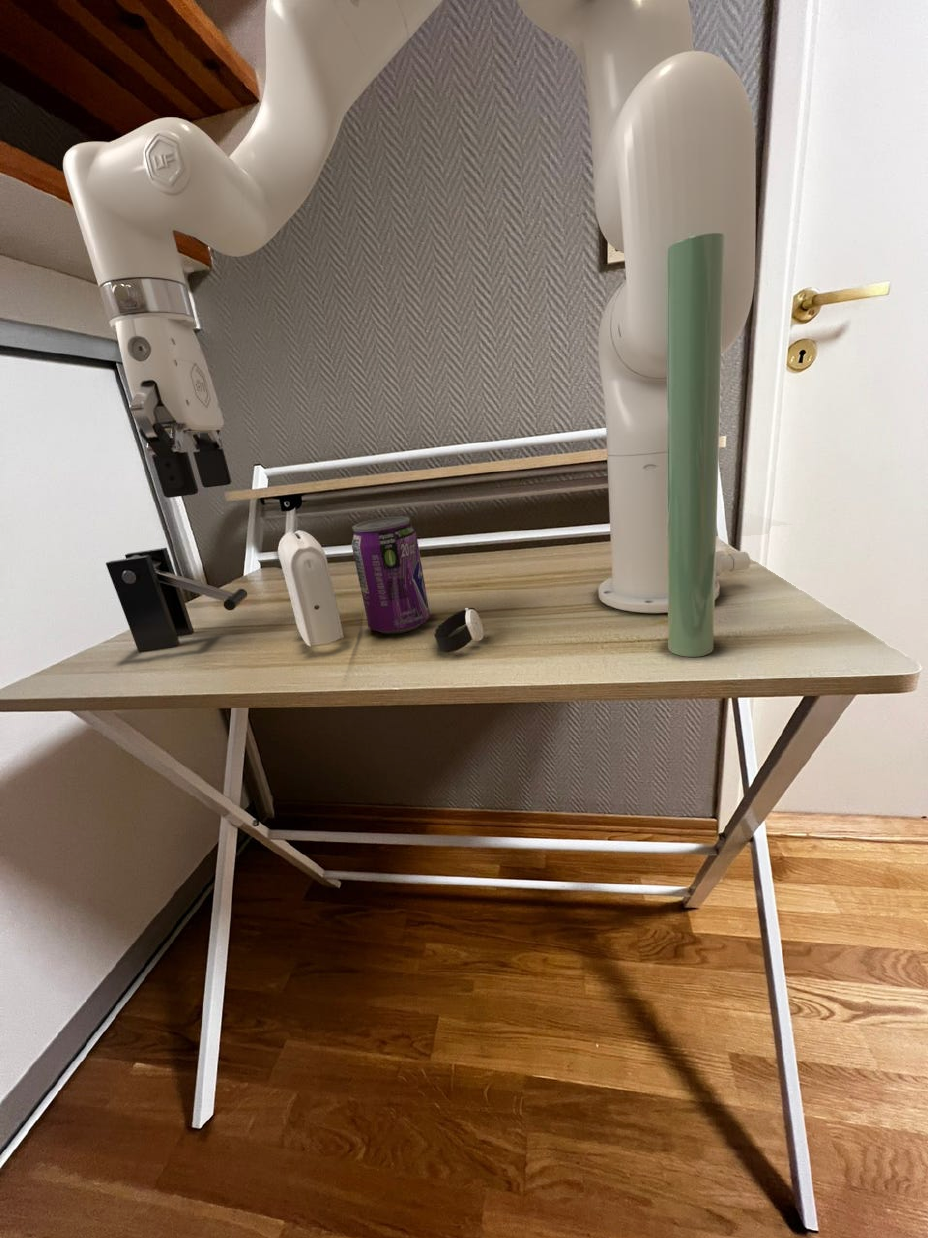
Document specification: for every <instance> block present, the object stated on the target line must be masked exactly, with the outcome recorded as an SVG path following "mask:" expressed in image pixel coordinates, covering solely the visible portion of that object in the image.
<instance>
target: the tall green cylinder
mask: <svg viewBox="0 0 928 1238" xmlns="http://www.w3.org/2000/svg"><path fill="white" fill-rule="evenodd" d="M724 247H725V235H724V234H722V233H708V234H702V235H697V236H693V237H690V238H686V239H683V240H681V241H678V242H676V243H674V244H672V245H670V246H669V247H668V248H667V496H668V613H667V648H668V650H669V652H670V653H672V654H674V655H677V656H680V657H686V658H696V657H703V656H707V655H709V654H711V653H712V652H713V650H714V637H715V606H716V605H715V602H716V599H715V579H716V577H715V569H716V552H717V534H718V533H717V530H718V528H717V527H718V498H719V497H718V495H719V493H718V492H719V458H720V457H719V455H720V427H721V426H720V423H721V422H720V421H721V420H720V419H721V387H722V386H721V385H722V356H723V355H722V319H723V283H724ZM721 355H722V356H721Z"/></svg>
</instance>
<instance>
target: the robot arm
mask: <svg viewBox="0 0 928 1238" xmlns="http://www.w3.org/2000/svg"><path fill="white" fill-rule="evenodd" d="M443 1H444V0H266V2H265V16H264V17H265V19H264V34H265V35H264V37H265V38H264V39H265V40H264V41H265V81H264V90H263V95H262V100H261V103H260V106H259V109H258V113H257V115H256V117H255V119H254V122H253V124H252V126H251V127H250V129H249V130H248V132H247V134H246V135H245V136H244V138H243V139H242V140H241V142H240V143H239V144H238V146H237V147H236V148H235V149H234V151H232V153H230V155H228V154H227V153H225V151H224V150H223V149H221V147H220V146H219V145H217V143H216V142H215V141H214V140H213V139H212V138H211V137H210V136H209V135H208V134H207V133H206V132H205V131H203V130H202V129H201V128H200V127H199V126H197V125H196V124H194V123H192V122H190V121H188V120H187V119H184V118H179V117H172V116H171V117H167V116H166V117H161V118H157V119H154V120H152V121H149V122H147V123H145V124H143V125H141V126H140V127H137V128H136V129H134V130H132V131H130V132H128V133H126V134H125V135H122V136H121V137H119V138H116V139H114V140H111V141H87V142H80V143H77V144H75V145H72V147H70V148H69V149H68V150H67V151H66V152H65V154H64V156H63V160H62V170H63V174H64V178H65V183H66V186H67V188H68V192H69V195H70V198H71V202H72V205H73V208H74V211H75V214H76V218H77V221H78V225H79V228H80V232H81V234H82V237H83V241H84V245H85V248H86V251H87V254H88V257H89V260H90V264H91V267H92V270H93V273H94V276H95V280H96V282H97V286H98V289H99V293H100V296H101V300H102V302H103V306H104V309H105V312H106V315H107V319H108V322H109V325H110V329H111V330H112V331H113V332H115V333H116V337H117V342H118V347H119V352H120V356H121V361H122V366H123V369H124V374H125V379H126V381H127V386H128V389H129V392H130V395H131V399H132V400H131V401H130V403H129V404H128V405H129V411H130V413H131V414H132V416H133V418H134V420H135V422H136V424H137V425H138V427H139V429H138V432H139V433H140V436H141V437H142V438H143V440H144V441H145V443H146V450H147V452H148V454H149V456H151V458H152V462H153V464H154V468H155V470H156V474H157V477H158V481H159V485H160V488H161V491H162V493H163V496H164V497H165V498H167V499H171V498H179V497H186V496H193V495H197V494H198V493H199V487H198V484H197V480H196V477H195V474H194V470H193V466H192V463H191V459H190V456H189V451H183V445H184V444H183V442H184V435H186V436H187V437H188V439H189V441H190V442H191V444H192V445H193V447H194V449H195V450H196V451H193V452H192V454H193V457H194V461H195V464H196V468H197V471H198V476H199V479H200V483H201V486H202V487H203V488H205V489H207V488H214V487H223V486H228V485H230V484H232V477H231V474H230V470H229V466H228V463H227V462H228V461H227V458H226V456H225V451H224V444H223V441H222V439H221V437H220V432H221V429H222V428H223V427H224V425H225V421H224V417H223V412H222V410H221V407H220V402H219V399H218V396H217V393H216V390H215V387H214V382H213V380H212V377H211V373H210V370H209V367H208V365H207V361H206V359H205V356H204V353H203V352H204V351H203V350H202V347H201V344H200V342H199V339H198V337H197V336H196V333H195V331H194V329H196V328H197V326H198V325H197V321H196V318H195V314H194V309H193V305H192V302H191V301H192V300H191V298H190V297H191V296H190V294H189V290H188V286H187V282H186V277H185V275H184V271H183V270H184V269H183V265H182V263H181V259H180V255H179V251H178V247H177V244H176V243H177V242H176V239H175V235H174V231H176V232H178V233H181V234H185V235H187V236H190V237H193V238H195V239H197V240H198V241H200V242H202V243H203V244H204V245H206V246H208V247H210V248H211V249H212V250H214V251H216V252H218V253H220V254H223V255H225V256H229V257H235V258H236V257H246V256H248V255H251V254H254V253H255V252H257V251H258V250H260V249H261V248H263V247H264V246H266V244H267V243H269V242H270V241H271V240H272V239H273V238H274V236H275V235H276V234H278V232H279V231H280V230H281V229H282V228H283V227H284V225H285V224H286V223H287V222H289V220H290V219H291V218H292V217H293V215H294V214H295V213H296V212H297V211H298V210H299V208H300V207H301V206H302V205H303V204H304V202H305V201H306V200H307V198H308V196H309V195H310V193H311V191H312V190H313V188H314V186H315V184H316V183H317V181H318V179H319V177H320V175H321V173H322V171H323V169H324V166H325V164H326V161H327V159H328V158H329V155H330V154H331V151H332V149H333V147H334V144H335V143H336V139H337V137H338V134H339V131H340V128H341V127H342V126H341V125H342V123H343V120H344V118H345V116H346V114H347V112H348V111H349V110H350V108H351V107H352V105H353V104H354V103H355V102H356V101H357V100H358V99H359V98H360V96H361V95H362V94H363V93H364V91H366V89H367V88H368V87H369V86H370V85H371V84H372V82H373V81H374V80H375V79H376V77H377V76H379V74H380V73H381V72H382V71H383V69H385V67H386V66H387V65H388V64H389V63H390V62H391V61H392V59H394V57H395V56H396V55H397V53H398V52H399V51H400V50H401V49H402V48H403V47H404V45H406V44H407V42H408V41H409V40H410V39H411V38H412V36H413V35H414V34H415V33H416V32H417V31H418V29H420V28H421V26H422V25H423V24H424V23H425V22H426V20H427V19H428V18H429V17H430V16H431V15H432V14H433V12H434V11H436V9H437V8H438V7H439V5H441V3H442V2H443ZM516 2H517V4H518V5H519V7H520V9H521V11H522V12H523V14H524V15H525V16H526V17H527V19H528V20H529V21H530V22H531V23H532V24H534V25H535V26H536V27H538V28H539V29H540V30H541V31H543V32H545V33H547V34H549V35H551V36H552V37H554V38H556V39H558V40H560V41H561V42H562V43H564V44H565V45H566V46H567V47H568V48H569V49H570V50H571V51H572V52H573V53H574V55H575V56H576V57H577V60H578V61H579V65H580V67H581V70H582V71H581V72H582V75H583V81H584V86H585V95H586V100H587V102H586V103H587V109H588V119H589V133H590V134H589V135H590V145H591V159H592V173H593V174H592V177H593V199H594V202H593V203H594V209H595V216H596V220H597V224H598V226H599V228H600V231H601V233H602V236H603V237H604V238H605V240H606V242H607V243H608V244H609V246H611V247H612V248H613V249H615V250H616V251H617V252H620V253H622V254H624V269H625V280H624V282H622V284H621V285H620V286H619V287H618V288H617V289H616V290H615V292H614V293H613V294H612V296H611V297H610V299H609V301H608V303H607V305H606V307H605V309H604V311H603V314H602V316H601V320H600V324H599V330H598V334H597V335H598V336H597V355H598V365H599V366H598V367H599V372H600V381H601V387H602V394H603V395H602V396H603V405H604V417H605V433H606V459H607V463H606V464H607V484H608V487H607V488H608V510H609V511H608V513H609V534H610V557H611V559H610V560H611V577H609V578H607V579H605V580H604V581H602V582H601V583H600V584H599V585H598V599H599V600H600V601H601V602H602V604H605V605H607V606H608V607H611V608H614V609H617V610H621V611H626V612H631V613H640V614H641V613H642V614H665V613H666V614H668V496H667V248H668V247H669V246H670V245H672V244H674V243H676V242H678V241H681V240H683V239H686V238H690V237H693V236H697V235H702V234H708V233H722V234H724V235H725V247H724V283H723V319H722V355H721V357H722V356H723V355H724V354H725V353H726V352H727V351H728V350H730V348H731V346H733V345H734V343H735V342H736V340H737V339H738V337H739V336H740V335H741V333H742V331H743V329H744V328H745V325H746V322H747V320H748V317H749V314H750V312H751V311H750V310H751V307H752V303H753V302H752V301H753V296H754V289H755V276H756V201H757V200H756V195H757V194H756V192H757V191H756V183H757V182H756V178H757V177H756V166H757V165H756V130H755V119H754V114H753V109H752V106H751V102H750V98H749V96H748V92H747V90H746V87H745V86H744V84H743V81H742V80H741V78H740V77H739V75H738V73H737V72H736V71H735V69H734V68H732V67H731V65H730V64H729V63H728V62H727V61H725V60H724V59H722V58H721V57H719V56H717V55H715V54H713V53H710V52H707V51H702V50H695V49H694V36H693V35H694V34H693V33H694V32H693V21H692V13H691V7H690V3H689V0H516ZM750 566H751V557H750V555H749V553H748V552H747V551H740V552H739V551H738V552H733V553H728V554H725V551H724V550H719V551H716V569H715V600H716V599H717V598H718V597H720V582H719V581H718V580H717V579H716V577H720V576H721V574H722V573H723V572H736V571H737V572H738V571H744V570H748V569H749V568H750Z"/></svg>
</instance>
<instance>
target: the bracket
mask: <svg viewBox="0 0 928 1238" xmlns="http://www.w3.org/2000/svg"><path fill="white" fill-rule="evenodd" d="M134 555H139V556H141V557H135V558H130V557H132V556H134ZM124 556H125V558H122V559H121V558H120V559H115V560H114V559H113V560H109V561H107V562H105V566H106V569H107V571H108V575H109V576H110V579H111V583H112V584H113V587H114V590H115V592H116V595H117V598H118V600H119V604H120V606H121V608H122V611H123V614H124V616H125V617H124V618H125V620H126V622H127V624H128V627H129V629H130V633H131V635H132V638H133V641H134V644H135V647H136V649H137V652H138V654H142V653H146V652H153V651H161V650H169V649H175V648H178V647H179V646H180V645H181V641H180V639H179V637H185V636H186V637H187V636H191V635H193V634H194V633H195V630H194V627H193V623H192V620H191V618H190V615H189V612H188V608H187V605H186V603H185V599H184V596H183V593H182V590H181V588H179V587H176V586H172V585H169V584H166V583H163V582H159V580H158V578H157V575H156V572H155V569H154V566H153V563H152V560H155V561H158V562H161V567H160V570H162V571H165V572H168V573H171V574H174V575H176V572H175V569H174V566H173V564H172V560H171V556H170V554H169V551H168V548H167V547H161V548H154V549H148V550H140V551H134V552H129V553H126V554H124ZM127 558H128V559H127ZM151 559H152V560H151Z"/></svg>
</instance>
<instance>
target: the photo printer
mask: <svg viewBox="0 0 928 1238" xmlns="http://www.w3.org/2000/svg"><path fill="white" fill-rule="evenodd" d="M277 554H278V559H279V562H280V565H281V568H282V573H283V576H284V580H285V583H286V588H287V591H288V595H289V600H290V603H291V608H292V611H293V615H294V619H295V624H296V628H297V630H298V632H299V635H300V637H301V638H302V640H303V641H304V643H305V644H306V645H307V646H309V647H314V646H322V645H327V644H331V643H334V642H336V641H338V640H340V639H344V637H345V636H344V630H343V625H342V620H341V616H340V612H339V607H338V602H337V598H336V593H335V589H334V584H333V580H332V576H331V571H330V567H329V563H328V559H327V555H326V553H325V550H324V548H323V546H322V545H321V543H320V542H319V541H318V540H317V539H316V538H315V537H314V536H313V535H312V534H310V533H308V531H304V530H301V529H300V530H299V529H298V530H296V531H295V532H292V531H288V532H286V533H285V534H283V536H282V537H281V538H280V541H279V542H278V547H277Z"/></svg>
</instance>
